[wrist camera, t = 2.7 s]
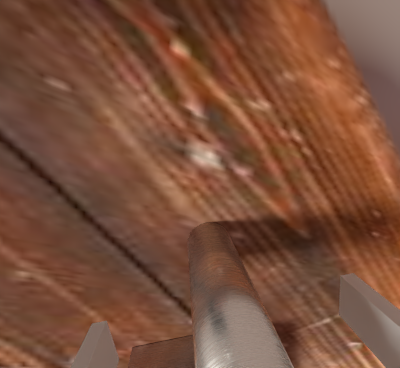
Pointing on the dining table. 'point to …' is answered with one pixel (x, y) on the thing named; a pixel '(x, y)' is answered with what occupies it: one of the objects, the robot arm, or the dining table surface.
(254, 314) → the grey gold cylinder
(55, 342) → the dining table surface
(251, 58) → the dining table surface
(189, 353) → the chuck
